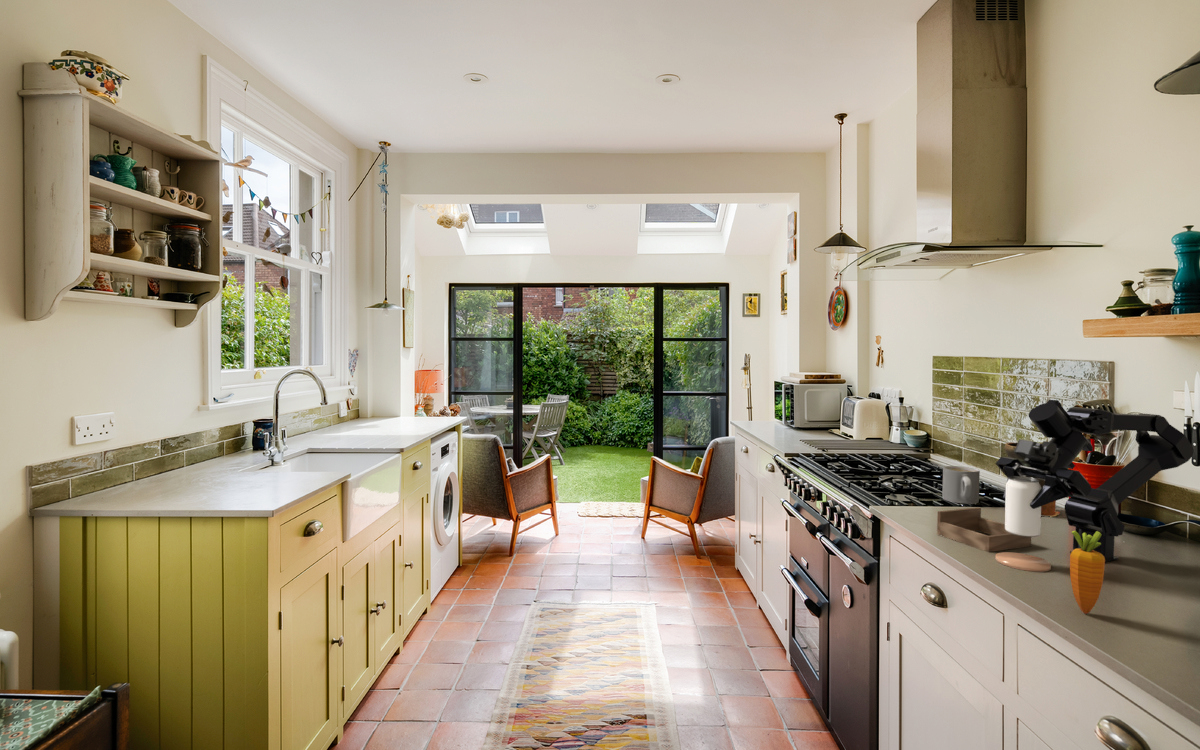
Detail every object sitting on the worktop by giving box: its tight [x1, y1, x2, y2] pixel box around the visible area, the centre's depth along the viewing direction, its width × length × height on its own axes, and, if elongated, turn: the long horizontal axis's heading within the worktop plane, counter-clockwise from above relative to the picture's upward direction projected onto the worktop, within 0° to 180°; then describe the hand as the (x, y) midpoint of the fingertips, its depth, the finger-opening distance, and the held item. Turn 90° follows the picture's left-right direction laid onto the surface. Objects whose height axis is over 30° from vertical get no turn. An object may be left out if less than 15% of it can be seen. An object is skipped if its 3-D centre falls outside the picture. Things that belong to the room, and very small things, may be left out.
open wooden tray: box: [936, 506, 1032, 553], centre depth 148 cm, size 14×14×6 cm
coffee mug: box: [941, 465, 981, 505], centre depth 188 cm, size 13×10×10 cm
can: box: [1004, 476, 1042, 538], centre depth 132 cm, size 6×6×12 cm
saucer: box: [995, 551, 1052, 573], centre depth 132 cm, size 10×10×1 cm
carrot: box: [1069, 530, 1106, 615], centre depth 106 cm, size 5×5×15 cm
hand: (1017, 503), depth 131 cm, fingers closed on can, 6 cm apart
